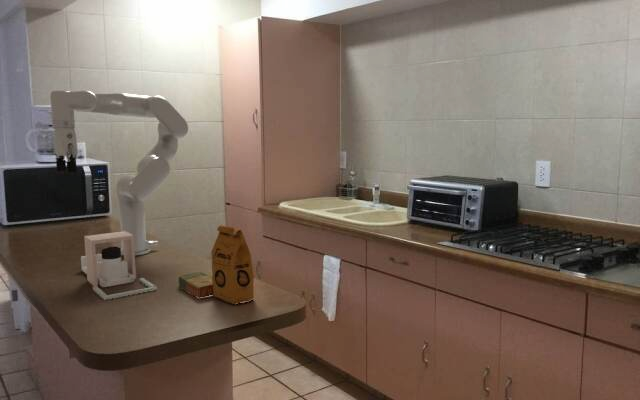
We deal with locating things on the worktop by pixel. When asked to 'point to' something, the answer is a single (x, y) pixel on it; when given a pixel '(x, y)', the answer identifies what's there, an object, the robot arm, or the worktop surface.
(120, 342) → the worktop surface
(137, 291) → the frame
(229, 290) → the coffee package
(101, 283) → the rack
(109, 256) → the medicine bottle
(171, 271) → the worktop surface
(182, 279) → the carton
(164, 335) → the worktop surface
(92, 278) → the cubby
